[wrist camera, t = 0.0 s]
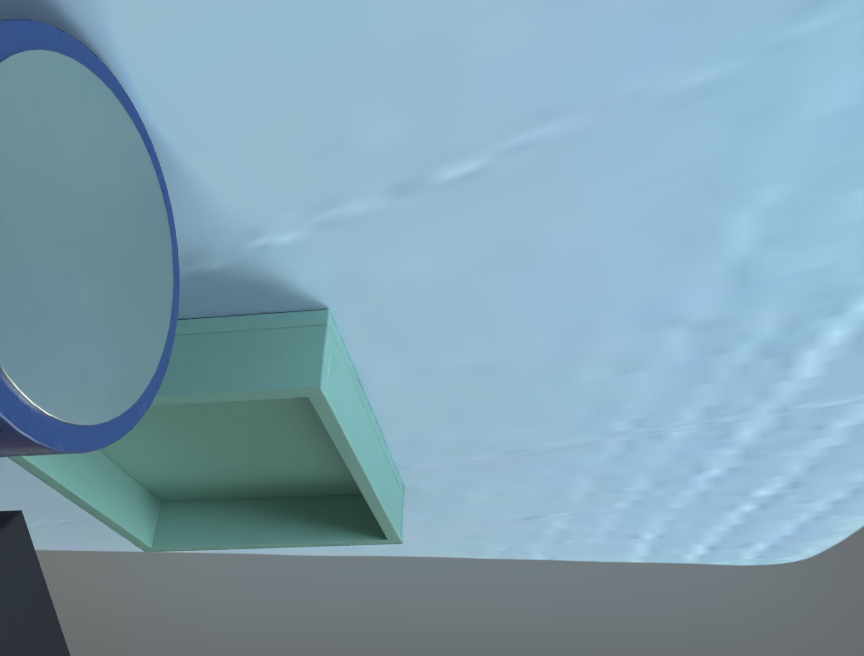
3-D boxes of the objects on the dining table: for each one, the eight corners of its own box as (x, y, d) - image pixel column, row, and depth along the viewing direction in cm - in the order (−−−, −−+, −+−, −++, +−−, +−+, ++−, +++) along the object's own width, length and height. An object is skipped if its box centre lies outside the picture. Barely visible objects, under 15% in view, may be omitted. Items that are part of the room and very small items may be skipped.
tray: (-32, 333, 33) (-64, 409, 31) (329, 308, 32) (321, 387, 29) (158, 495, 50) (145, 552, 47) (404, 485, 48) (402, 544, 46)
